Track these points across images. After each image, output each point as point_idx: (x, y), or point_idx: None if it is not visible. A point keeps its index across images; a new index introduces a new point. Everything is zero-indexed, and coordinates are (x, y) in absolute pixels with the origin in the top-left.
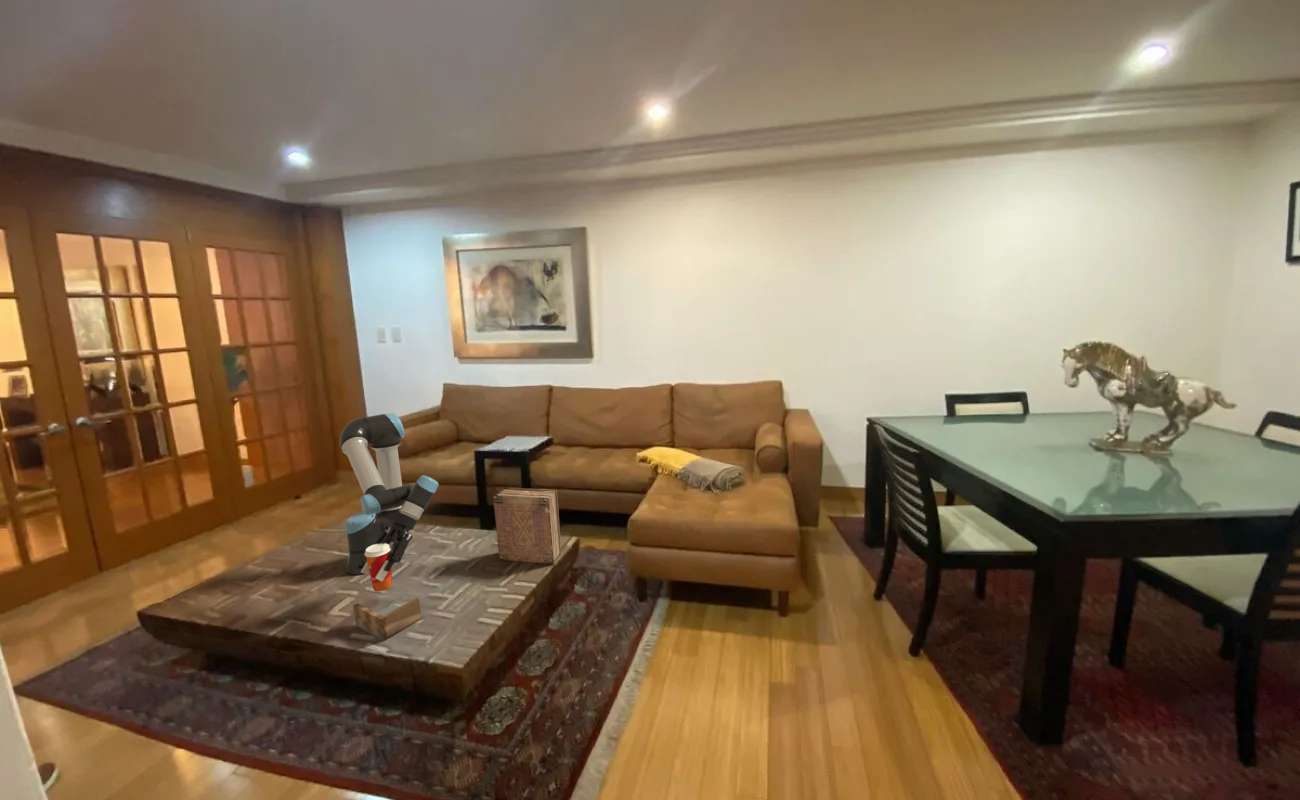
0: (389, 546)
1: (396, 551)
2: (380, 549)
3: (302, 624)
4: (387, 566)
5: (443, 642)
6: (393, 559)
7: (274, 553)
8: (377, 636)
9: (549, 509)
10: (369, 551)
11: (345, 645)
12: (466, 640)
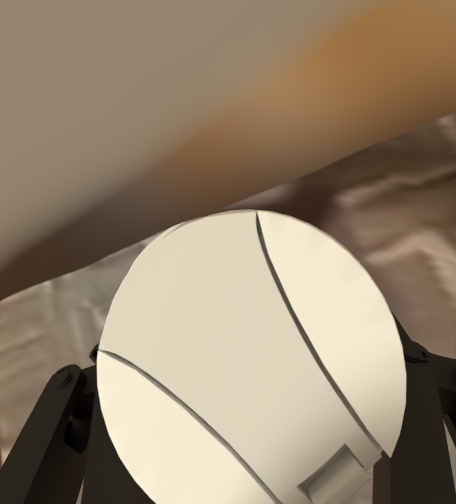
0: None
1: (35, 458)
2: (142, 346)
3: (425, 170)
4: None
5: (66, 329)
6: (63, 369)
7: None
8: None
9: None
10: (216, 233)
11: (238, 202)
12: (29, 362)
